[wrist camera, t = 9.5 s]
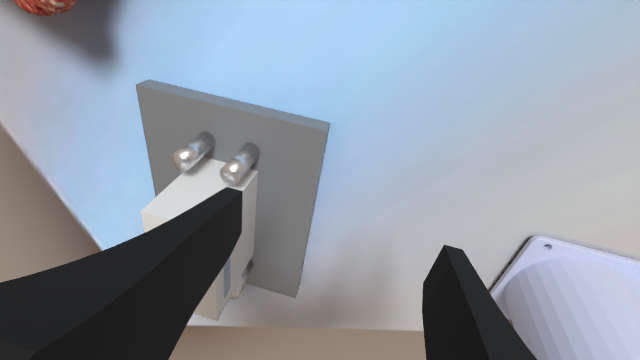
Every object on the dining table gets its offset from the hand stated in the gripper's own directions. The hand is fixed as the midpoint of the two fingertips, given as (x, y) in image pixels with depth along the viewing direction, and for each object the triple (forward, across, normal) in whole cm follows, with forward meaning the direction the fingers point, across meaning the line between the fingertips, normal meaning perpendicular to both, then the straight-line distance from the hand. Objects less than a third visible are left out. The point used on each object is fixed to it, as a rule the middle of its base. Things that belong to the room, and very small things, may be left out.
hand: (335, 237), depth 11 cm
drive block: (+8, +8, +8) cm, 14 cm away
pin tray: (+9, +8, +8) cm, 15 cm away
